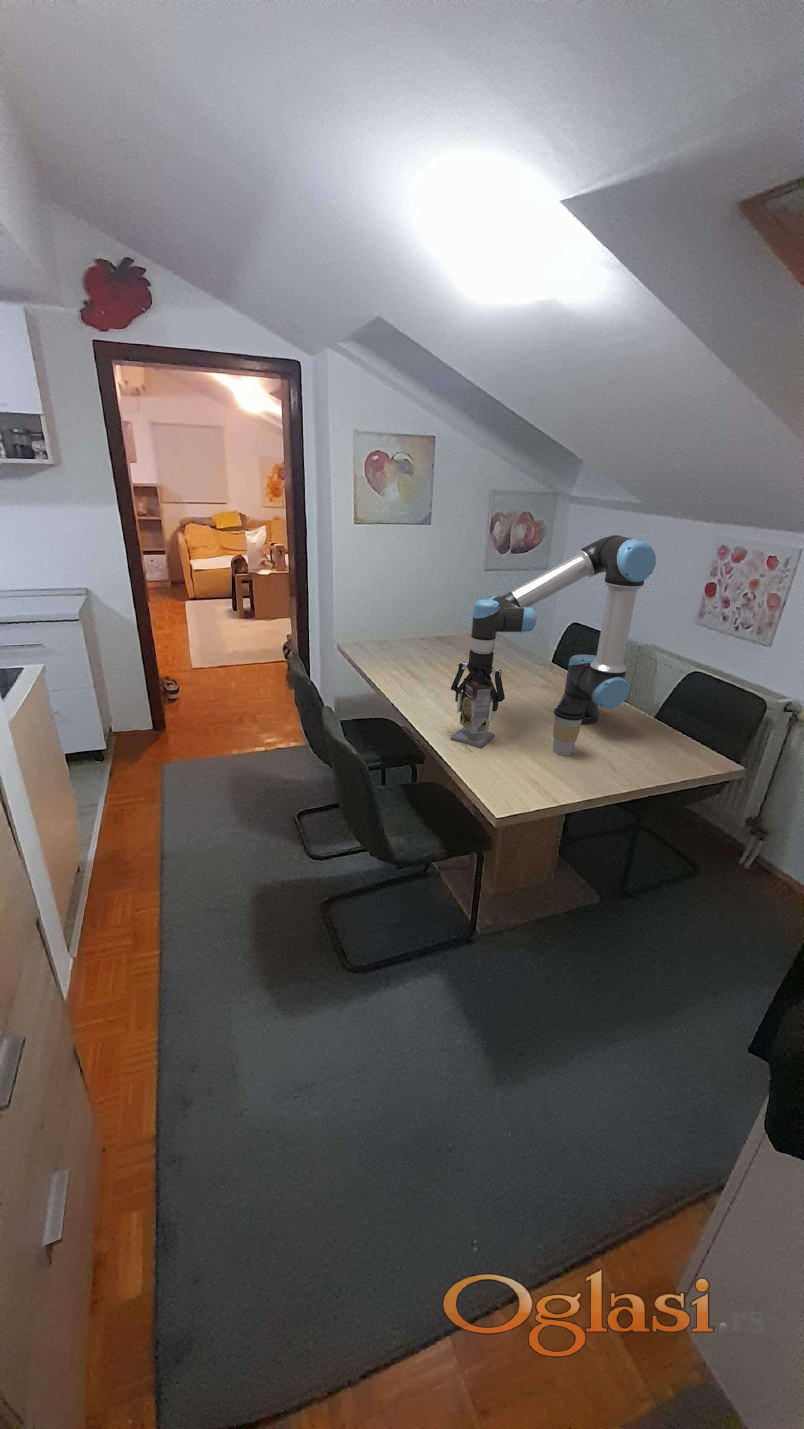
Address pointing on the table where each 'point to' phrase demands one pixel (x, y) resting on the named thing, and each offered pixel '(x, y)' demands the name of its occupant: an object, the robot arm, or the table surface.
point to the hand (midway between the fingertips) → (474, 715)
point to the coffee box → (475, 706)
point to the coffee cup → (566, 727)
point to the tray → (472, 738)
